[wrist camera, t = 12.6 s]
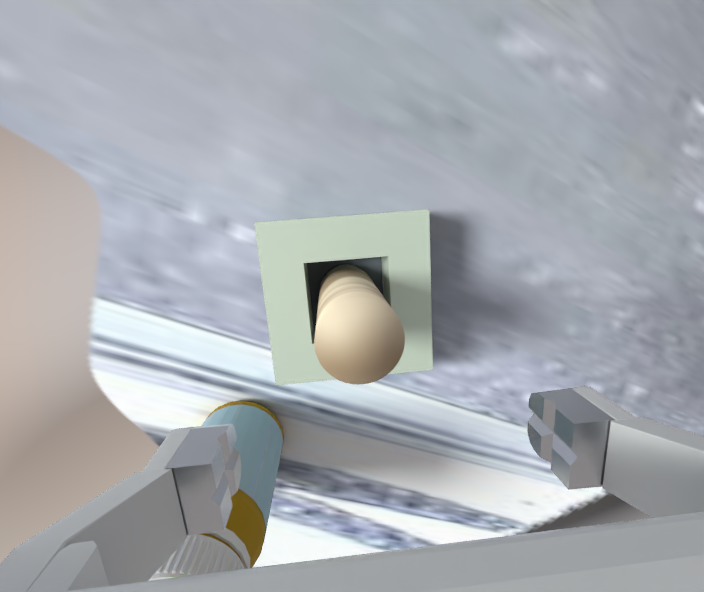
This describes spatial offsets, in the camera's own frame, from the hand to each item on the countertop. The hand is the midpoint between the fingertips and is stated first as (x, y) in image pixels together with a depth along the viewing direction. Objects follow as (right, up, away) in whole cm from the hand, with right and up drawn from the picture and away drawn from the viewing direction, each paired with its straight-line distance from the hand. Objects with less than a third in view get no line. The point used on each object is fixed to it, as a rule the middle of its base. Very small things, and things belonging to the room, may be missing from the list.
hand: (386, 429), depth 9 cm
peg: (-1, +4, +19) cm, 19 cm away
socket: (-1, +4, +19) cm, 19 cm away
